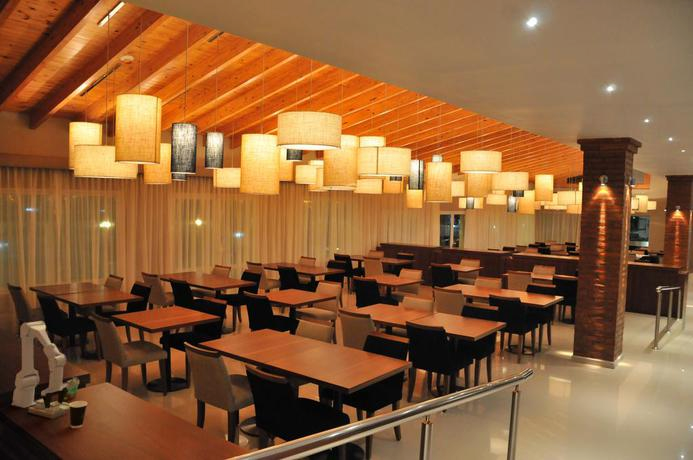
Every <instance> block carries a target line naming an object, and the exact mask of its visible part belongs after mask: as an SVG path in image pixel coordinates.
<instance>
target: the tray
mask: <svg viewBox="0 0 693 460" xmlns="http://www.w3.org/2000/svg"><path fill="white" fill-rule="evenodd" d="M54 402H58V400H56V401H54ZM69 404H70V403H68V402H65V401H63V402H62V404H60V408H62V409H66V411H67V410H70V406H69Z"/></svg>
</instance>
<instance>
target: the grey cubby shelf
mask: <svg viewBox="0 0 693 460" xmlns="http://www.w3.org/2000/svg"><path fill="white" fill-rule="evenodd" d="M28 413H30V414H33V415H37V416H41V417H44V418H48V419H51V420H52V419H55V418H59V417H61V416H64V415H66V414H67V410H66V409H62V408H60V411H57V412H55V413H51V412H47V408H45V409H42V410H39V409H35V405H32V406H31V407H30V406H28Z"/></svg>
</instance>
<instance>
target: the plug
mask: <svg viewBox="0 0 693 460" xmlns="http://www.w3.org/2000/svg"><path fill="white" fill-rule="evenodd" d="M57 411H60V403H58V402H55V401H53V402H50V408H47V412H51V413H55V412H57Z"/></svg>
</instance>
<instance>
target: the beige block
mask: <svg viewBox="0 0 693 460" xmlns="http://www.w3.org/2000/svg"><path fill="white" fill-rule="evenodd" d="M34 402H35V403H36V404H34V406H35V409H39V410H42V409H45V404H44V401H43V398H41V399H38V400H35V401H34Z"/></svg>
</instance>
